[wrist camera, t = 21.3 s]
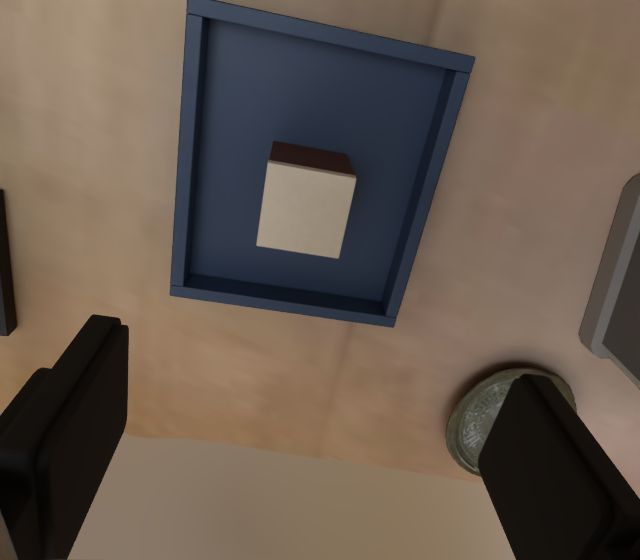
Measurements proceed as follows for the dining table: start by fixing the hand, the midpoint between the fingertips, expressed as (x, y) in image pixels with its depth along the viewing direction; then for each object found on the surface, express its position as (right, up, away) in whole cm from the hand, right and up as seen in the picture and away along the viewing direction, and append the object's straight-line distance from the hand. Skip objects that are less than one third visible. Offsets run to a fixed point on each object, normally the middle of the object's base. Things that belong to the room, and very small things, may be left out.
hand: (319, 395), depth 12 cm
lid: (+15, -8, +27) cm, 32 cm away
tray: (-1, +9, +18) cm, 20 cm away
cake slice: (-1, +9, +18) cm, 20 cm away
